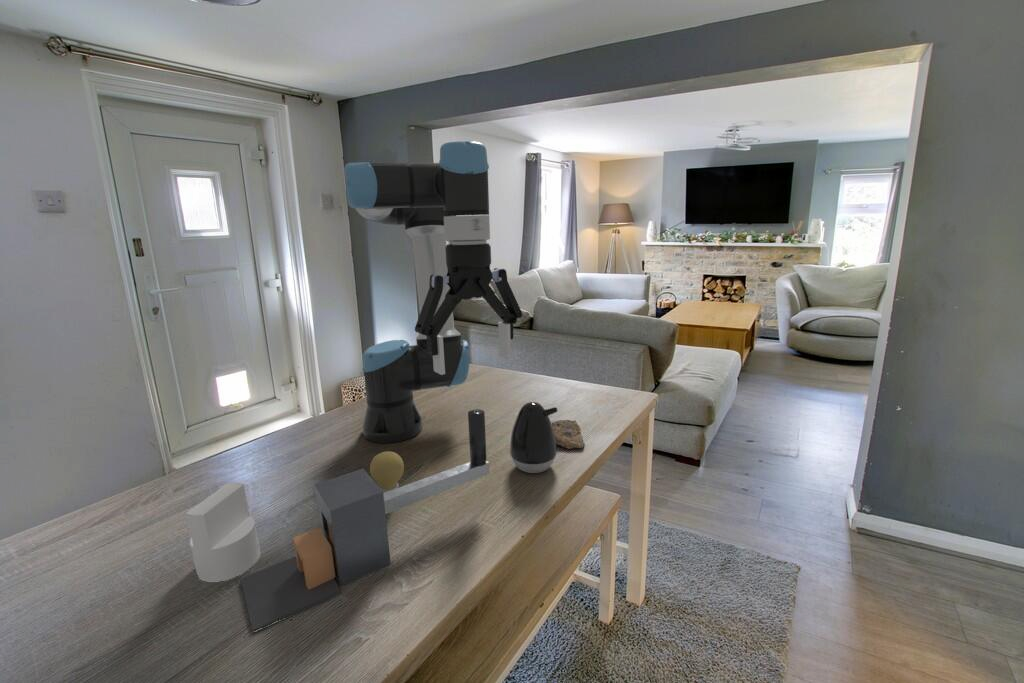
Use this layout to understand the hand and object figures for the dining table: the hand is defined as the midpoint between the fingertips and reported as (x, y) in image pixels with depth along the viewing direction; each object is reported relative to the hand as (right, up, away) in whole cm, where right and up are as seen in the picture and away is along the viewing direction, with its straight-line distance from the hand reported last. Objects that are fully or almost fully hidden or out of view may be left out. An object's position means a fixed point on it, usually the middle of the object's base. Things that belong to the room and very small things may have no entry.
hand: (473, 364), depth 85 cm
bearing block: (-19, -31, -7) cm, 37 cm away
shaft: (-10, -23, -2) cm, 25 cm away
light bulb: (-17, -27, +10) cm, 34 cm away
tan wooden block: (-24, -32, -10) cm, 41 cm away
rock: (+20, -21, +32) cm, 44 cm away
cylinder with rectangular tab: (-39, -32, -7) cm, 51 cm away
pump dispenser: (+12, -24, +21) cm, 33 cm away
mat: (-27, -33, -12) cm, 44 cm away
